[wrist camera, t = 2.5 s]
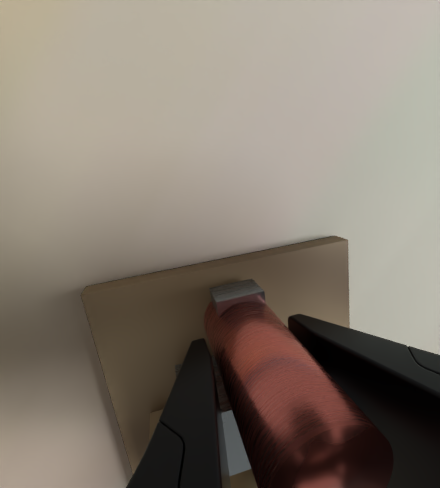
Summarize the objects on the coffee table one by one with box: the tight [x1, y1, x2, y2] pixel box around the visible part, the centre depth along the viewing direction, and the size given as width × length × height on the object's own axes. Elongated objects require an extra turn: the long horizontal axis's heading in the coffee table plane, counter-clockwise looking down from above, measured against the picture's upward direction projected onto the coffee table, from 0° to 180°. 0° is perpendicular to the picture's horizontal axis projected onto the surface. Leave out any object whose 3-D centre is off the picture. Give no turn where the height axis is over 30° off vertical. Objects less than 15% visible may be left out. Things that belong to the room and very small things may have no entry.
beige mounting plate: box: [81, 236, 349, 474], centre depth 10 cm, size 14×10×5 cm
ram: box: [175, 279, 394, 488], centre depth 8 cm, size 5×5×6 cm
